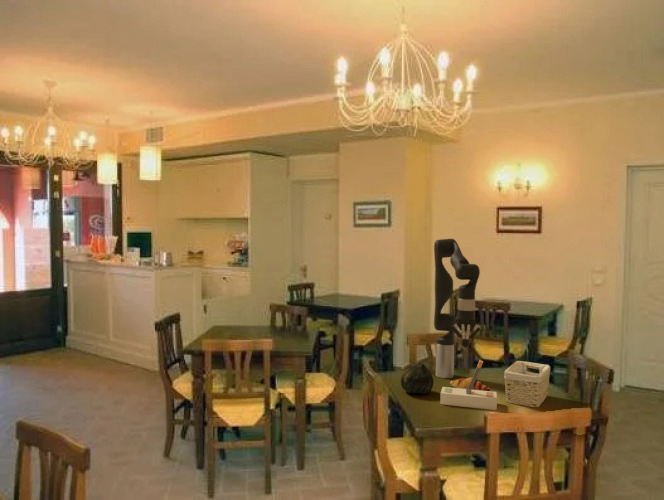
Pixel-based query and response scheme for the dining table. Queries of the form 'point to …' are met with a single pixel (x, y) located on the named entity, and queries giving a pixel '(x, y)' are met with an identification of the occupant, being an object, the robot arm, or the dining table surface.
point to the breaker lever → (475, 374)
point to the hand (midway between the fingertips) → (465, 347)
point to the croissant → (465, 383)
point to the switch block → (468, 398)
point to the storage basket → (526, 383)
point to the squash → (417, 379)
